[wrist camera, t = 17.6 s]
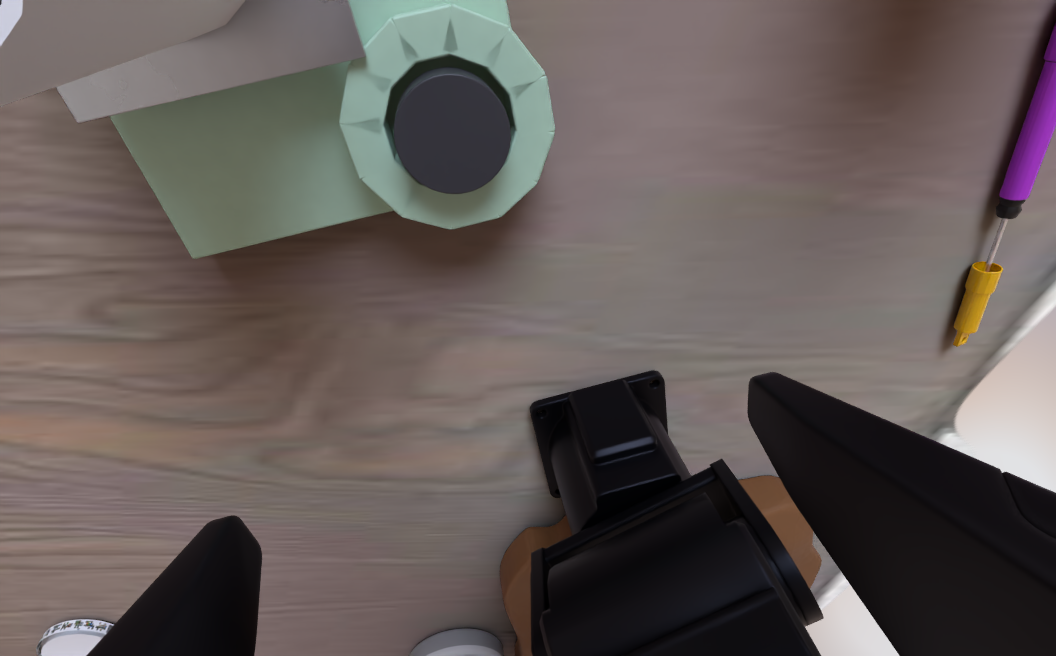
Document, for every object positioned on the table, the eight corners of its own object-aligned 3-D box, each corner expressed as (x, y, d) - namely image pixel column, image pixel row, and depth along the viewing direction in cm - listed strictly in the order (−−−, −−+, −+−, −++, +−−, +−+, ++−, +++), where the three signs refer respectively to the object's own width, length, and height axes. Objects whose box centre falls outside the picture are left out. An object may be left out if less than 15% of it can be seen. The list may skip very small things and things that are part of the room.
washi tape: (24, 632, 28) (16, 644, 27) (103, 611, 28) (97, 623, 27) (73, 670, 30) (67, 682, 29) (146, 650, 30) (141, 662, 29)
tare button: (513, 166, 17) (521, 180, 16) (414, 190, 17) (413, 206, 16) (490, 55, 15) (497, 60, 14) (380, 81, 15) (376, 88, 14)
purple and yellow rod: (1063, -21, 19) (940, 342, 28) (1104, -23, 18) (963, 353, 27) (1109, -32, 20) (975, 325, 29) (1151, -34, 19) (1000, 335, 28)
